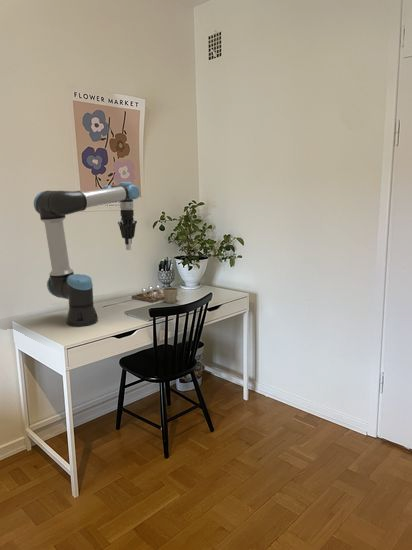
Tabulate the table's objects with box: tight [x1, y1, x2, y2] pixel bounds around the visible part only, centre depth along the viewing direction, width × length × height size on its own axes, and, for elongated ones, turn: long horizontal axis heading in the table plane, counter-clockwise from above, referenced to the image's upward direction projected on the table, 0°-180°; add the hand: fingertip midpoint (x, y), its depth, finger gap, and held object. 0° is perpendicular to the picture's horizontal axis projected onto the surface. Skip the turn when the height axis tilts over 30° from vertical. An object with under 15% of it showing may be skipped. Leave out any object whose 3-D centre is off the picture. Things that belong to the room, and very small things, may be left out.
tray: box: [131, 289, 179, 304], centre depth 256 cm, size 22×17×3 cm
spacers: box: [141, 284, 162, 299], centre depth 256 cm, size 17×14×5 cm
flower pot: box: [161, 286, 179, 304], centre depth 245 cm, size 9×9×9 cm
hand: (128, 249), depth 249 cm, fingers closed
